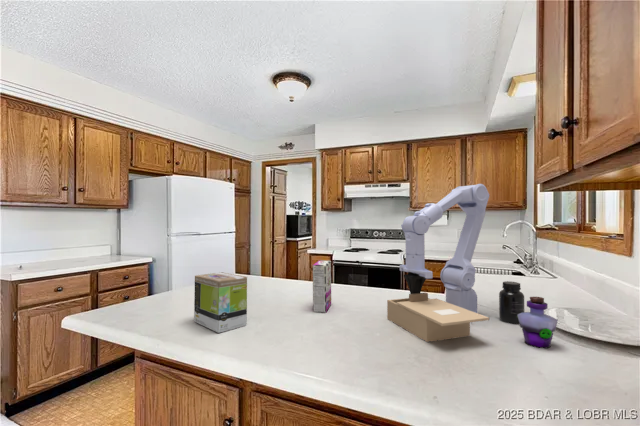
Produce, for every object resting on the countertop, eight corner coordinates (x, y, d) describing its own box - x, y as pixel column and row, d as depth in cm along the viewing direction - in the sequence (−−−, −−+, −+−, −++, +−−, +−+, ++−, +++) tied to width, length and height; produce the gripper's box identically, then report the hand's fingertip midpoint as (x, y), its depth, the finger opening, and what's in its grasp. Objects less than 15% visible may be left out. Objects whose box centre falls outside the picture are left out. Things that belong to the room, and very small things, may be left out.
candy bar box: (318, 303, 120) (318, 260, 120) (331, 304, 118) (331, 260, 119) (311, 312, 109) (311, 264, 109) (326, 313, 108) (326, 264, 108)
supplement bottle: (494, 317, 102) (494, 280, 103) (514, 317, 103) (514, 280, 103) (508, 325, 96) (508, 285, 96) (530, 324, 96) (529, 284, 96)
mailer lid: (436, 300, 100) (436, 291, 100) (489, 320, 81) (489, 309, 81) (396, 304, 96) (396, 294, 96) (442, 326, 76) (442, 314, 77)
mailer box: (424, 314, 106) (424, 296, 106) (470, 335, 87) (469, 313, 87) (387, 318, 101) (387, 300, 101) (426, 342, 82) (426, 318, 82)
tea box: (248, 325, 95) (248, 276, 96) (217, 334, 88) (217, 281, 88) (222, 315, 106) (222, 270, 106) (192, 322, 98) (193, 274, 99)
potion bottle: (540, 353, 76) (539, 302, 76) (509, 339, 84) (509, 294, 84) (567, 349, 78) (566, 300, 78) (535, 336, 86) (534, 292, 86)
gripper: (391, 252, 105) (391, 293, 105) (418, 257, 91) (418, 304, 91) (410, 251, 107) (410, 291, 107) (438, 256, 93) (438, 302, 93)
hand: (415, 297), depth 99 cm, fingers closed
